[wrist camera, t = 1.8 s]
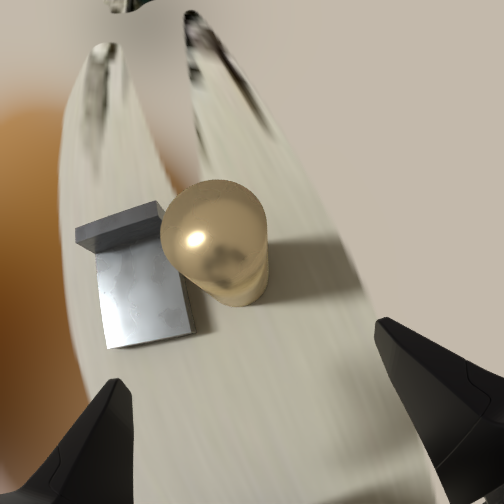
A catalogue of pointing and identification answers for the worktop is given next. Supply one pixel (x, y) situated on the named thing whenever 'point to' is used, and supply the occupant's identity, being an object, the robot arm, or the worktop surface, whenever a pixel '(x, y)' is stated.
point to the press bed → (136, 278)
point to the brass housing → (218, 240)
